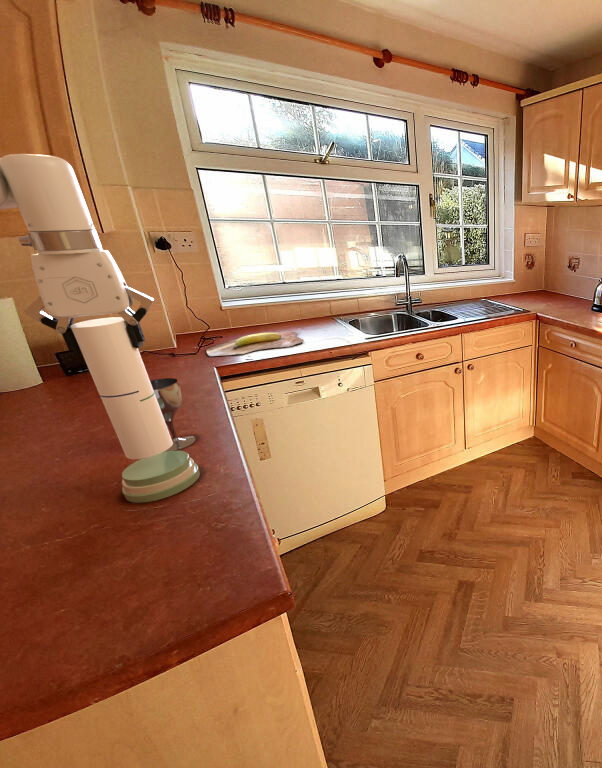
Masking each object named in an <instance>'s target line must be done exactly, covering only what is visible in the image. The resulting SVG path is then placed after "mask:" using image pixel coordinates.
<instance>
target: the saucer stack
mask: <svg viewBox="0 0 602 768" xmlns="http://www.w3.org/2000/svg"><path fill="white" fill-rule="evenodd" d="M200 476H201V471H200V468H199V466H198V464H197V463H196V462H194V459H193V458H192V457H190V454H189V453H188V452H186V451H184V450H174V451H166V452H162V453H160V454H157V455H154V456H151V457H147V458H142V459H137V460H136V461H134V462H132V463H131V464H129V465H127V467H126V468H124V470H123V471H122V472H121V478H122V480H121V485H122V488H121V491H122V492H121V493H122V495H123V496H124V499H125V500H126V501H128V502H130V503H139V504H142V503H151V502H155V501H159V500H163V499H167V498H169V497H171V496H173V495H177V494H178V493H180V492H182V491H185V490H186V489H188V488H189V487H191V486H192V485H193V484H195V483H196V482H197V480H198V479H199V478H200Z"/></svg>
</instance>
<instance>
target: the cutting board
mask: <svg viewBox="0 0 602 768" xmlns="http://www.w3.org/2000/svg"><path fill="white" fill-rule="evenodd" d="M298 333H299V332H295V331H282V332H280V331H279V332H260V333H259V332H258V333H253V334H252V333H251V334H248V335H244V336H241V337H239V338H236V339H231V340H229V341H224V342H221V343H218V344H216V345H213V346H211V347H209V348H206V350H205V351H206V352H205V353H206V354H207V356H209V357H217V356H218V357H219V356H221V357H222V356H232V355H245V354H247V353H251V352H254V351H260V350H266V349H273V348H290V347H293V346H296V345H298V344H301V343H303V342H304V341H305V340H304V338H300V337H298V336H297V334H298Z"/></svg>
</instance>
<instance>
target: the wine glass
mask: <svg viewBox="0 0 602 768" xmlns="http://www.w3.org/2000/svg"><path fill="white" fill-rule="evenodd" d="M150 382H151V385H152V388H153V390H154V393H155V396H156V399H157V401H158V404H159V407H160V409H161V412H162V415H163V417H164V420H165V423H166V425H167V428H168V430H169V432H170V435H171V437H172V438H171V439H172V442H173V445H172V446H171V447H170V448H169V449H167V450H166V451H164V452H167V451H179V450H182V449H185V448H187V447H189V446H190V445H192V444H194V443H195V442H196V440H197V439H196V438H197V437H196V436H193V435H181V436H178V435H177V432H176V429H175V424H174V420H175V416H176V414H177V413H178V411H179V410H180V408H181V406H182V403H183V395H182V394H183V393H182V389H181V385H180V383H179V380H178V379H177V378H175V377H166V378H158V379H152V380H150Z"/></svg>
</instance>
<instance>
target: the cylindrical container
mask: <svg viewBox="0 0 602 768" xmlns="http://www.w3.org/2000/svg"><path fill="white" fill-rule="evenodd" d="M127 326H128V323H127V322H126V321H125V320H124V319H123V318H122V317H121V316H115V317H102V318H95V319H88V320H83V321H78V322H76V323H73V324H72V325H71V329H72V331H73V333H74V336H75V338H76V340H77V343H78V345H79V347H80V350H81V352H82V354H81V355H82V357H83V359H84V361H85V364H86V366H87V369H88V371H89V373H90V376H91V378H92V380H93V382H94V385H95V387H96V390H97V392H98V394H99V396H100V399H101V400H102V404H103V406H104V408H105V410H106V413H107V416H108V417H109V419H110V423H111V424H112V428H113V429H114V433H115V434H116V437H117V438H118V442H119V443H120V447H121V448H122V451H123V453H124V456H125V458H127V459H129V460H140V459H143V458H147V457H151V456H154V455H157V454H160V453H162V452H164V451H166V450H167V449H169V448H170V447H171V446H172V445H173V442H172V439H173V438H172V435H171V433H170V430H169V428H168V426H167V424H166V423H165V420H164V417H163V415H162V412H161V409H160V407H159V404H158V401H157V399H156V396H155V393H154V390H153V388H152V385H151V382H150V381H151V380H150V377H149V374H148V372H147V369H146V367H145V364H144V361H143V358H142V355H141V353H140V350H139V348H134V347H133V344H132V342H131V339H130V336H129V334H128V331H127V328H126V327H127ZM166 452H167V451H166Z"/></svg>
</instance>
